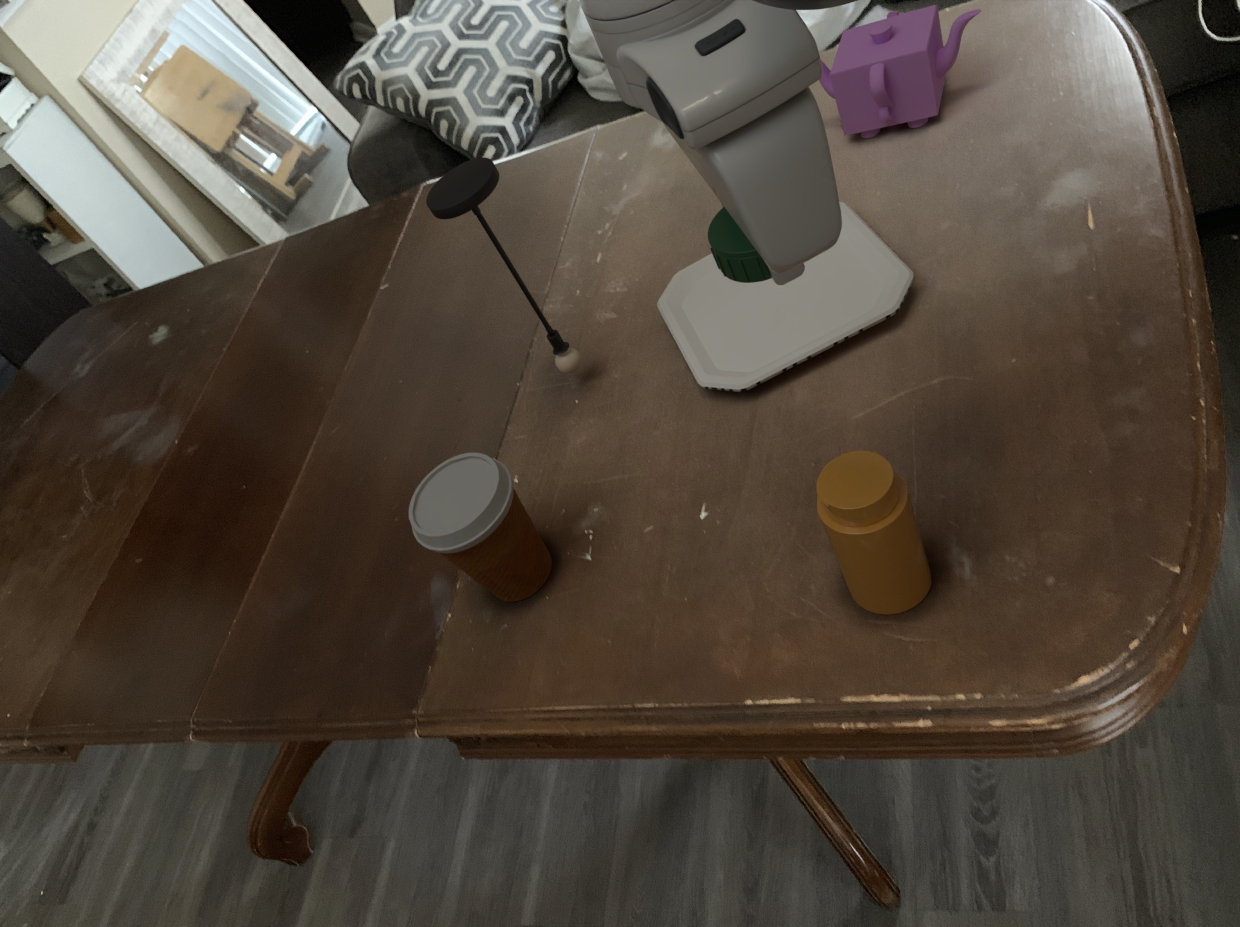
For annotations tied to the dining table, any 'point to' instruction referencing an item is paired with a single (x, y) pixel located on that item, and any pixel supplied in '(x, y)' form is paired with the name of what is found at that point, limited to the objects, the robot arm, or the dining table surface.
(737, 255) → the lid
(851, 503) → the jar
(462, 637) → the dining table surface
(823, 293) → the plate
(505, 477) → the disposable coffee cup
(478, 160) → the light fixture
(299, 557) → the dining table surface
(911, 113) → the teapot
